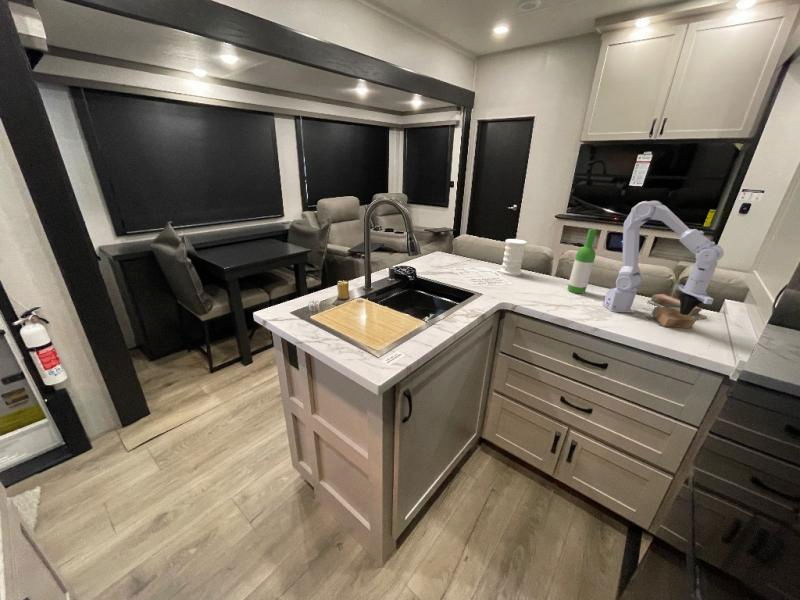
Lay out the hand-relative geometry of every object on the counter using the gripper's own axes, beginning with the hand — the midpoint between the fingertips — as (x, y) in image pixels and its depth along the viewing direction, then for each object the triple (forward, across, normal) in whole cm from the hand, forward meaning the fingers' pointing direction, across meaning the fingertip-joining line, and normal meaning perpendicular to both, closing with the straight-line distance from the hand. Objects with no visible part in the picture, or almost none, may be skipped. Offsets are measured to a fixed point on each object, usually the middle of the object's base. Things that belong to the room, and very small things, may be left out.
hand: (683, 314), depth 116 cm
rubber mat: (+6, +5, 0) cm, 8 cm away
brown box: (+4, 0, 0) cm, 4 cm away
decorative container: (+6, +60, +48) cm, 77 cm away
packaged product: (+7, +18, -12) cm, 23 cm away
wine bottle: (+6, +35, +22) cm, 42 cm away
